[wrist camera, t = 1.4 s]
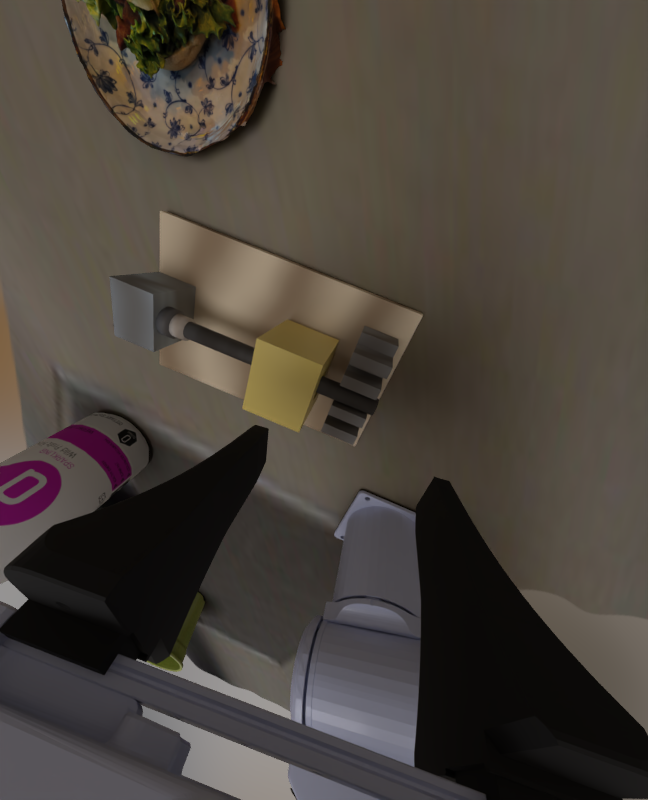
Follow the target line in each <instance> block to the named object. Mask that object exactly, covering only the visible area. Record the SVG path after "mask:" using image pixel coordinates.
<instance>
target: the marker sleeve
mask: <svg viewBox="0 0 648 800" xmlns="http://www.w3.org/2000/svg"><path fill="white" fill-rule="evenodd" d="M338 343H339V340H337V339H335V338H332V337H330V336H327V335H325V334H322V333H320V332H317V331H315V330H313V329H310V328H308V327H305V326H303V325H300V324H298V323H295V322H293V321H290V320H288V319H287V320H285V321H284V322H282V323H281V324H279V325H277V326H276V327H274V328H273V329H271V330H269V331H268V332H266V333H264V334H263V335H261V336H260V337H258V338H257V339H256V344H255V349H254V354H253V359H252V364H251V369H250V374H249V378H248V383H247V388H246V393H245V398H244V403H243V408H242V409H244V410H247V411H249V412H251V413H254V414H256V415H258V416H261V417H263V418H266V419H268V420H270V421H273V422H275V423H277V424H280V425H282V426H284V427H287V428H289V429H292V430H294V431H296V432H300V430H301V428H302V426H303V424H304V422H305V421H306V419H307V417H308V415H309V413H310V411H311V409H312V408H313V406H314V404H315V402H316V400H317V398H318V396H319V393H316V391H317V388H318V385H319V382H320V380H321V377H322V376H324V377H326V375H327V372H328V369H329V367H330V364H331V361H332V359H333V356H334V353H335V351H336V348H337V345H338Z"/></svg>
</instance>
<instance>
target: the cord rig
mask: <svg viewBox="0 0 648 800" xmlns="http://www.w3.org/2000/svg"><path fill="white" fill-rule="evenodd" d="M110 286H111V297H112V308H113V320H114V331H115V336H117V337H119V338H122V339H124V340H126V341H129V342H131V343H134V344H136V345H138V346H141V347H143V348H145V349H148V350H150V351H153V352H155V351H157V350H160V365H163V366H165V367H168V368H170V369H172V370H175V371H177V372H179V373H182V374H184V375H187V376H189V377H191V378H194V379H196V380H198V381H201V382H203V383H205V384H208V385H210V386H213V387H215V388H217V389H220V390H222V391H224V392H227V393H229V394H232V395H234V396H236V397H239V398H241V399H243V400H244V398H245V393H246V388H247V383H248V378H249V374H250V369H251V364H252V359H253V354H254V349H255V344H256V339H257V338H258V337H260V336H261V335H263V334H264V333H266V332H268V331H269V330H271V329H273V328H274V327H276V326H277V325H279V324H281V323H282V322H284V321H285V320H287V319H288V320H290V321H293V322H295V323H298V324H300V325H303V326H305V327H308V328H310V329H313V330H315V331H317V332H320V333H322V334H325V335H327V336H330V337H332V338H335V339H337V340H339V343H338V345H337V348H336V351H335V353H334V356H333V359H332V361H331V364H330V367H329V369H328V372H327V375H326V377H324V376H322V377H321V380H320V382H319V385H318V388H317V391H316V393H319V396H318V398H317V400H316V402H315V404H314V406H313V408H312V409H311V411H310V413H309V415H308V417H307V419H306V421H305V422H304V424H303V425H305V426H307V427H310V428H312V429H315V430H317V431H319V432H322V433H324V434H326V435H329V436H331V437H334V438H336V439H338V440H341V441H343V442H345V443H348V444H350V445H353V446H355V445H356V443H357V441H358V439H359V438H360V436H361V434H362V432H363V430H364V428H365V426H366V424H367V422H368V420H369V418H370V416H371V415H373V414H374V412H375V410H376V407H377V405H378V402H379V399H380V397H381V395H382V393H383V391H384V390H385V388H386V386H387V384H388V382H389V380H390V378H391V376H392V374H393V372H394V370H395V368H396V366H397V365H398V363H399V361H400V359H401V357H402V355H403V353H404V351H405V349H406V347H407V345H408V343H409V341H410V340H411V338H412V336H413V334H414V332H415V330H416V328H417V326H418V324H419V322H420V320H421V318H422V317H423V314H422V313H421V312H419V311H416V310H414V309H411V308H409V307H406V306H404V305H401V304H398V303H396V302H393V301H391V300H388V299H386V298H383V297H381V296H378V295H376V294H373V293H371V292H368V291H366V290H363V289H361V288H358V287H356V286H353V285H351V284H348V283H346V282H343V281H341V280H338V279H336V278H333V277H331V276H328V275H326V274H323V273H321V272H318V271H316V270H313V269H311V268H308V267H306V266H303V265H300V264H298V263H295V262H293V261H290V260H288V259H285V258H283V257H280V256H278V255H275V254H273V253H270V252H268V251H265V250H263V249H260V248H258V247H255V246H253V245H250V244H248V243H245V242H243V241H240V240H238V239H235V238H233V237H230V236H228V235H225V234H223V233H220V232H218V231H215V230H213V229H210V228H208V227H205V226H202V225H200V224H197V223H195V222H192V221H190V220H187V219H185V218H182V217H180V216H177V215H175V214H172V213H170V212H166V211H160V272H154V273H143V274H131V275H120V276H110Z"/></svg>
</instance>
